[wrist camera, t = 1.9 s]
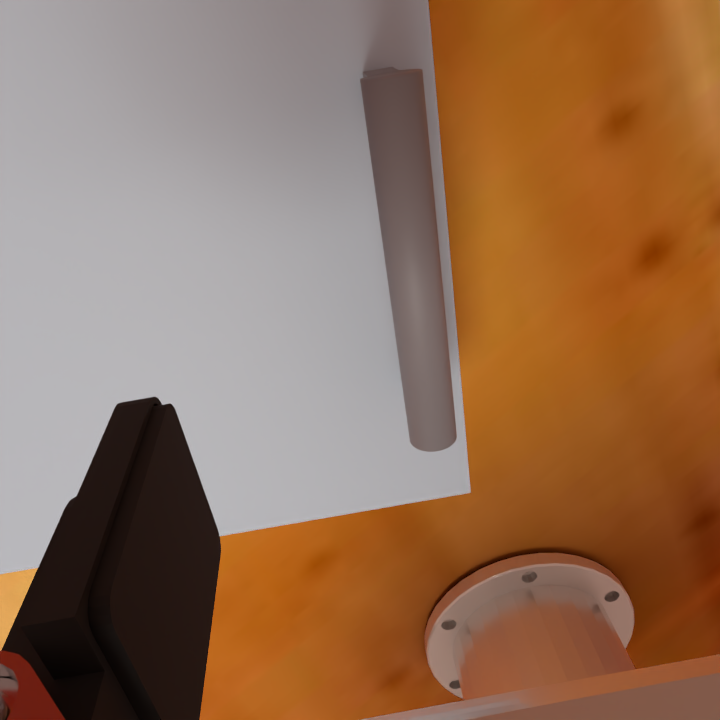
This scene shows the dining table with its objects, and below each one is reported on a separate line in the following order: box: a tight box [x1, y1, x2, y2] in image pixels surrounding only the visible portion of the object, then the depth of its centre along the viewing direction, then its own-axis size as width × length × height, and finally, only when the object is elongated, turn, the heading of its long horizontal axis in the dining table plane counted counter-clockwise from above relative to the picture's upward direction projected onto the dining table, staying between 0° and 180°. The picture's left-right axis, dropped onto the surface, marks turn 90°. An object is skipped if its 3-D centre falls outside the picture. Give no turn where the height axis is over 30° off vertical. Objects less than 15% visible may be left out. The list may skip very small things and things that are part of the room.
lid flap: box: [0, 0, 471, 574], centre depth 18 cm, size 20×18×4 cm
